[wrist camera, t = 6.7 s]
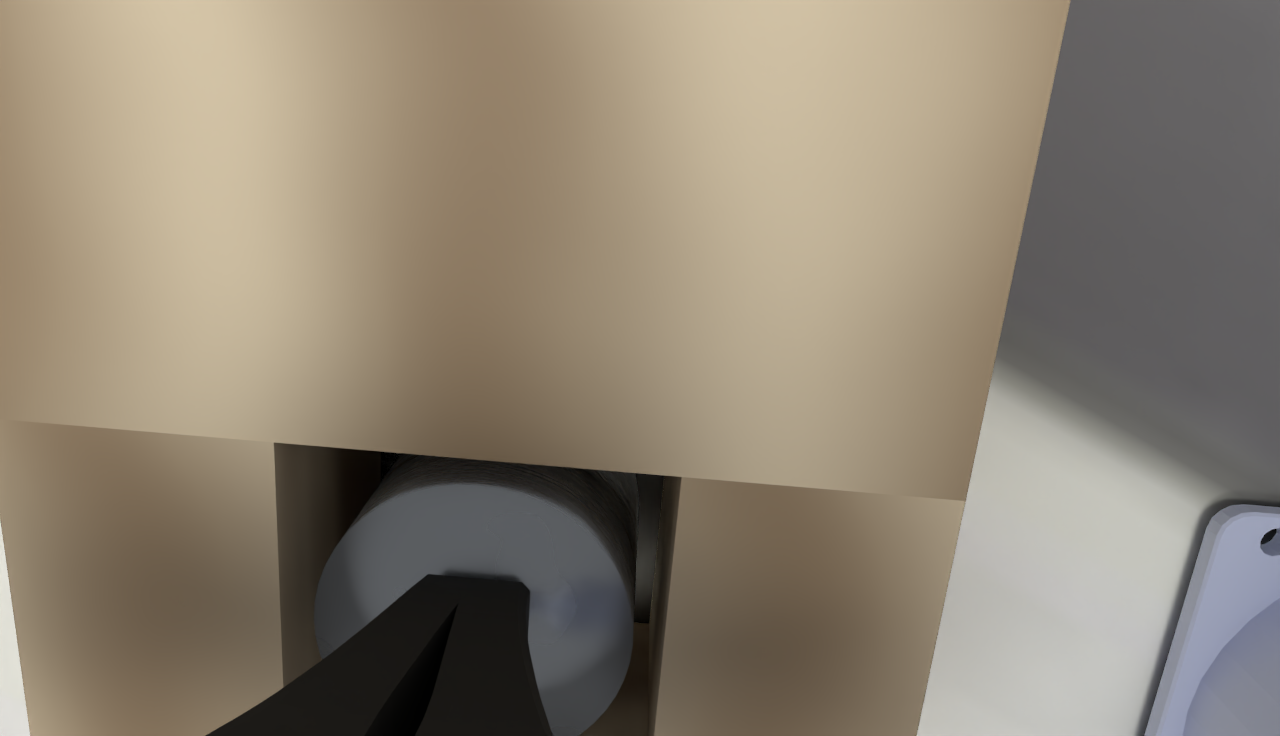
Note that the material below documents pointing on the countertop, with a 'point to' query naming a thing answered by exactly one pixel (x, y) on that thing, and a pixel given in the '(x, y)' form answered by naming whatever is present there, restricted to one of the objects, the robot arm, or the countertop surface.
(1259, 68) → the countertop surface
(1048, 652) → the countertop surface
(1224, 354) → the countertop surface
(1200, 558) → the robot arm
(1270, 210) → the countertop surface
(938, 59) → the socket block
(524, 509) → the peg
